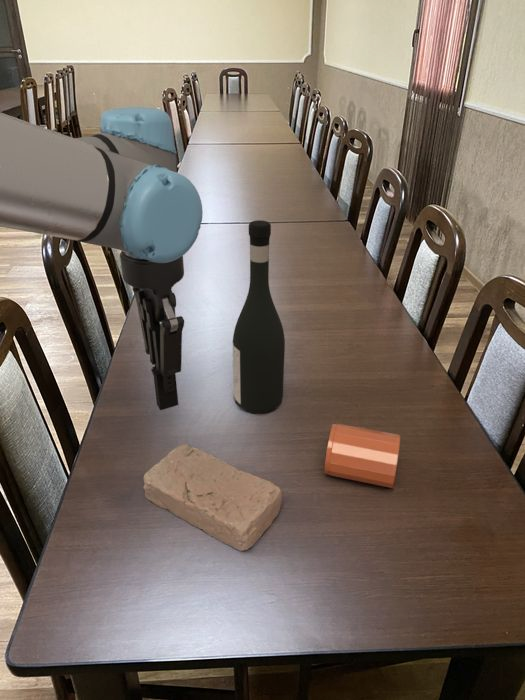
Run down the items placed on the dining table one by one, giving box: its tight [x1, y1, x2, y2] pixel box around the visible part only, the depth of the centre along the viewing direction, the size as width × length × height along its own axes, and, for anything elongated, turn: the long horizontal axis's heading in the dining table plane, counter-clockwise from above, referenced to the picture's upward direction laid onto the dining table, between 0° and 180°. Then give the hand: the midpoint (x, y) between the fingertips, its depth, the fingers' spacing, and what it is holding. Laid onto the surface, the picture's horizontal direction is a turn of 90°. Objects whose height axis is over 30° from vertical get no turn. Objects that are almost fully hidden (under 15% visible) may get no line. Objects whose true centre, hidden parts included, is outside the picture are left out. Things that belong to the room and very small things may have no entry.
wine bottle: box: [232, 219, 286, 414], centre depth 81 cm, size 8×8×30 cm
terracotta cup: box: [323, 422, 401, 489], centre depth 72 cm, size 7×7×9 cm
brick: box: [143, 443, 283, 552], centre depth 68 cm, size 17×8×5 cm, turn 57°
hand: (167, 404), depth 77 cm, fingers closed
